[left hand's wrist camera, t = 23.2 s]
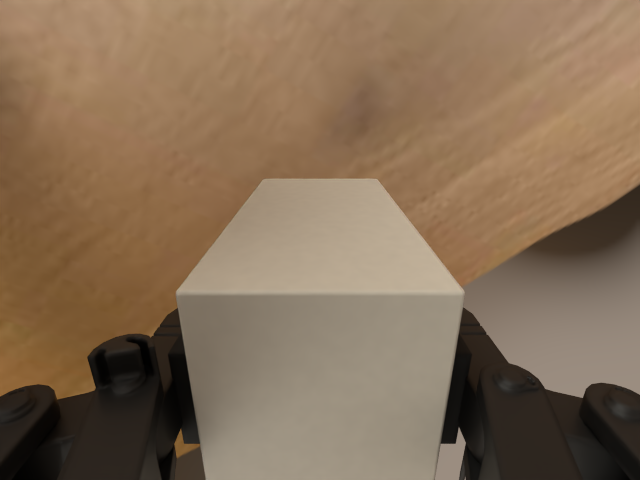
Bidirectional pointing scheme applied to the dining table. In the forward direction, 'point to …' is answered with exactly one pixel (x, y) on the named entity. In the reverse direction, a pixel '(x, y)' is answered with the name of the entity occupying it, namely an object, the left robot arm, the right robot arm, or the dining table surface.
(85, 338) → the dining table surface
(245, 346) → the block
